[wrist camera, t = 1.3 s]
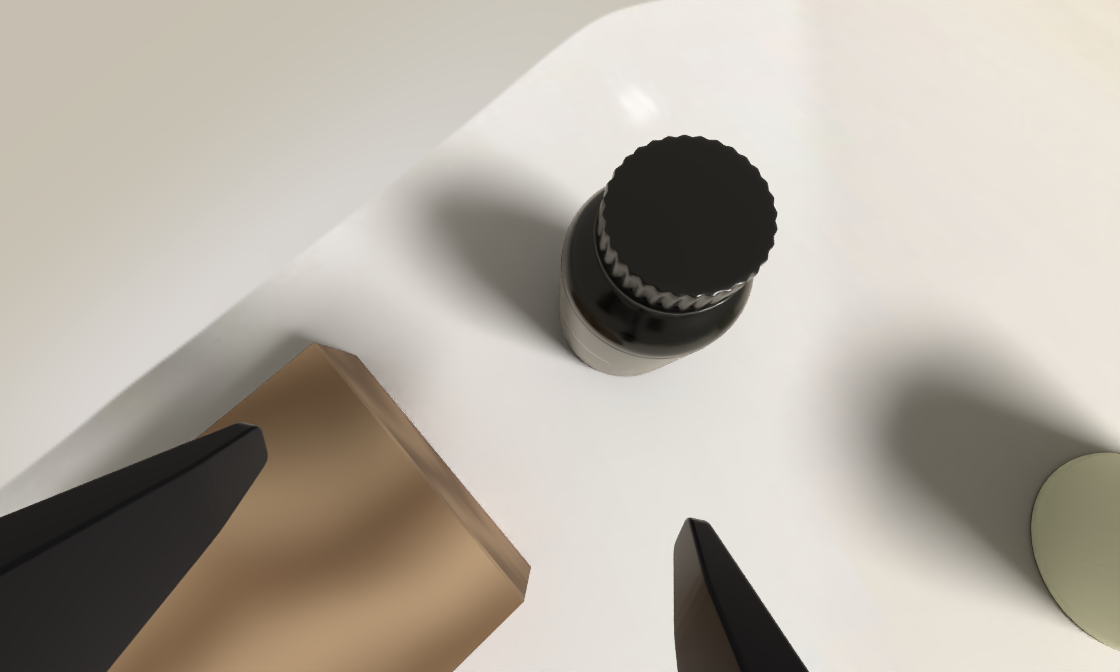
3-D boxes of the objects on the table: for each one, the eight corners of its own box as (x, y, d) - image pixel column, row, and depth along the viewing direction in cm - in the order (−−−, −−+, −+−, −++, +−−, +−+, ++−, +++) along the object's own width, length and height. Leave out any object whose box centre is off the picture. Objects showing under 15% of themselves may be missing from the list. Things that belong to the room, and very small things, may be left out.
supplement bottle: (546, 362, 23) (530, 300, 11) (575, 245, 24) (589, 75, 12) (673, 393, 22) (799, 363, 10) (696, 272, 24) (831, 125, 12)
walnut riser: (530, 566, 21) (523, 601, 17) (294, 797, 19) (224, 897, 15) (356, 356, 23) (313, 342, 19) (128, 546, 21) (28, 575, 17)
